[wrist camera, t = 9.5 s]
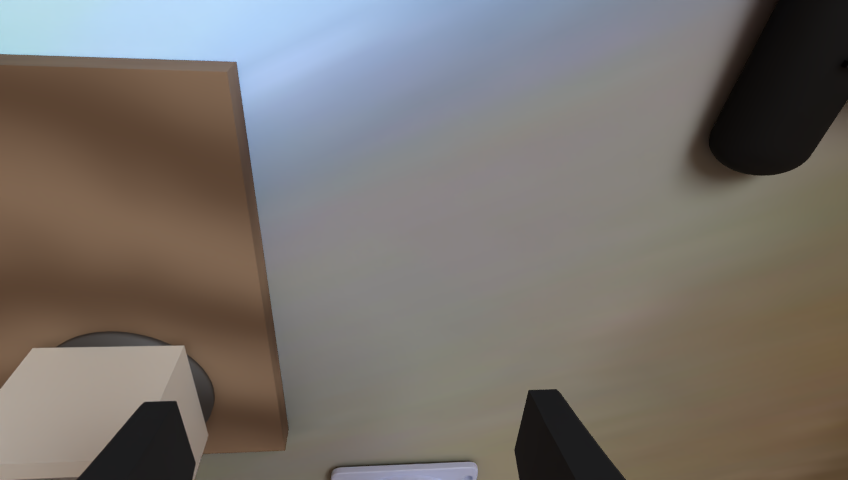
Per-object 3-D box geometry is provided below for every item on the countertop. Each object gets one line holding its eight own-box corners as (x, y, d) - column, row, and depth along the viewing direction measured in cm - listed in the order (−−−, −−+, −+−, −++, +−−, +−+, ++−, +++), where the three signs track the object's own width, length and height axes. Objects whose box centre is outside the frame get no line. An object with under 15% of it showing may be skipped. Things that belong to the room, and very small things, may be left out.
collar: (208, 435, 23) (171, 551, 19) (77, 439, 23) (9, 559, 18) (184, 345, 20) (134, 459, 16) (32, 348, 20) (-61, 466, 15)
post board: (288, 429, 26) (265, 568, 20) (34, 438, 24) (-64, 589, 19) (236, 62, 16) (164, 138, 10) (-189, 48, 15) (-517, 126, 9)
